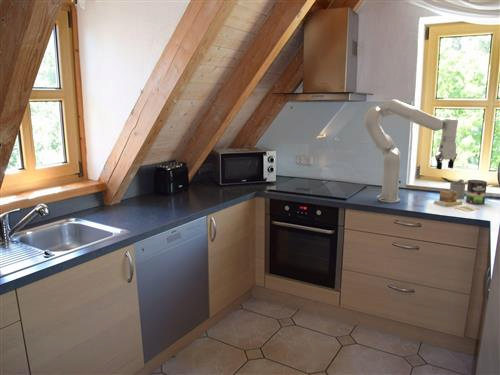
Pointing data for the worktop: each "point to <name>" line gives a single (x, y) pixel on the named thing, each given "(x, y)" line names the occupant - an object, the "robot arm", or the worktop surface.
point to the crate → (448, 196)
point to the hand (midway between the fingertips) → (444, 168)
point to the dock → (447, 203)
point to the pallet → (467, 208)
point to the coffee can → (476, 192)
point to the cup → (458, 189)
